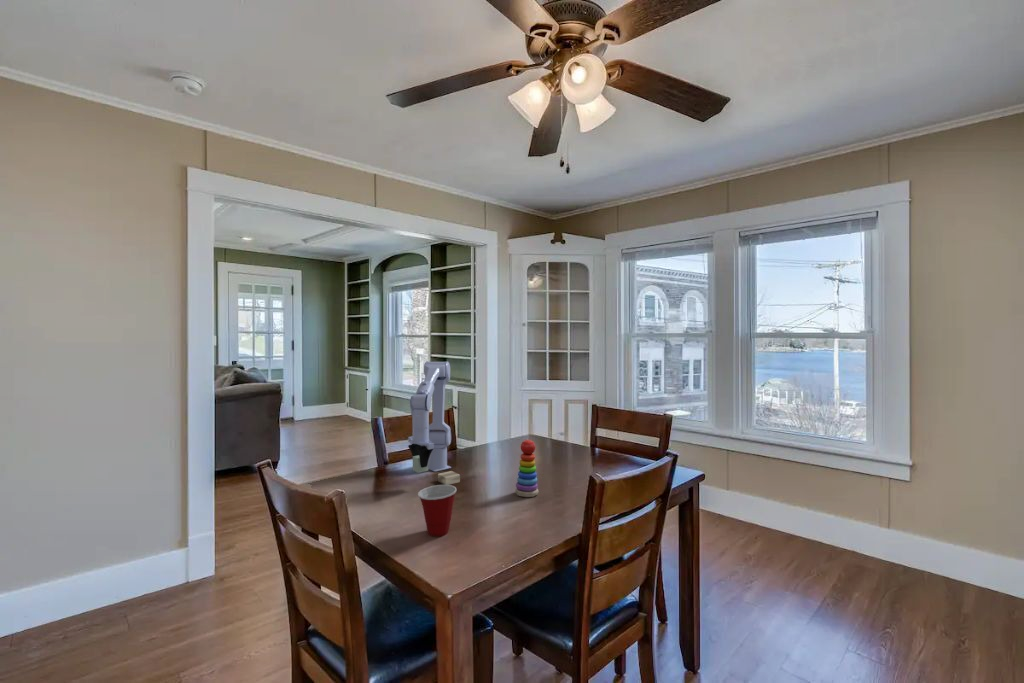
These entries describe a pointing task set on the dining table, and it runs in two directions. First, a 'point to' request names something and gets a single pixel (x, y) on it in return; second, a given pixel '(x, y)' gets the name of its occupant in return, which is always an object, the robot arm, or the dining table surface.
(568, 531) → the dining table surface
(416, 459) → the sage block
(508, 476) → the dining table surface
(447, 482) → the maple base
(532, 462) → the stacking toy
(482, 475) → the dining table surface
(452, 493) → the plastic cup
